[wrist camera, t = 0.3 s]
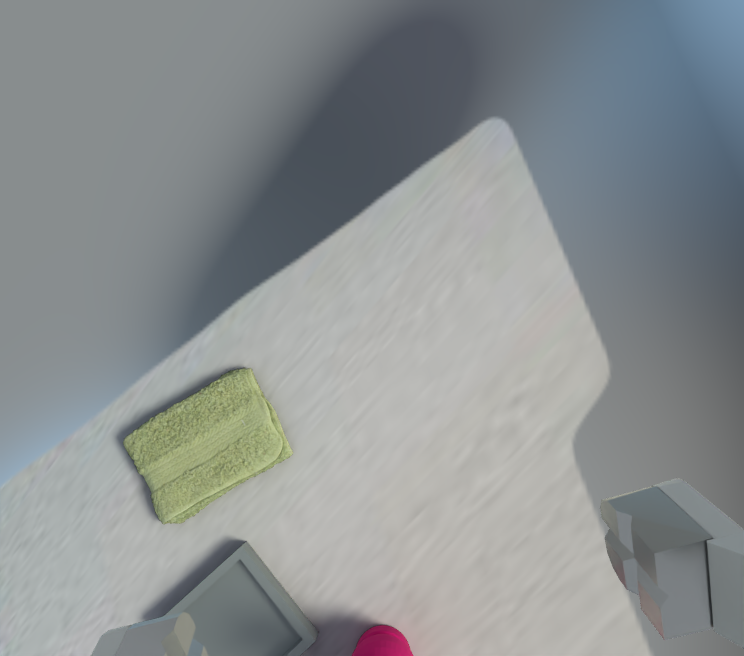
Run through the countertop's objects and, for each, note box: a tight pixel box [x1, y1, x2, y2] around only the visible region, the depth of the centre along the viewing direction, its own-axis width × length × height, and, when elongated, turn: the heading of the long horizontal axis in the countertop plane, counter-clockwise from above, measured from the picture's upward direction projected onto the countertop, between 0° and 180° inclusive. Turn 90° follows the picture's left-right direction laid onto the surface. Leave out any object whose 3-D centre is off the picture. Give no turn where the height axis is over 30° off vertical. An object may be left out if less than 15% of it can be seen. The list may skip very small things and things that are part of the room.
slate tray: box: [163, 542, 318, 656], centre depth 57 cm, size 13×13×2 cm
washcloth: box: [123, 368, 293, 524], centre depth 61 cm, size 13×18×3 cm
